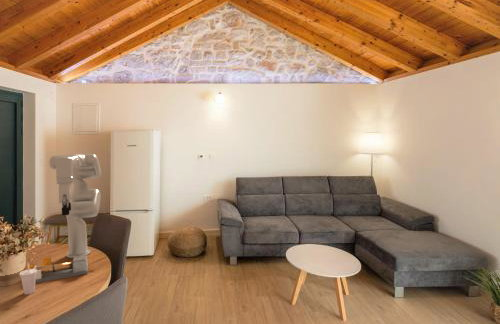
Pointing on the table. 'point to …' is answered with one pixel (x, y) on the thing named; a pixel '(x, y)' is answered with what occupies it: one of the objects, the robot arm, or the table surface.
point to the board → (59, 275)
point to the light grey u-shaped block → (38, 272)
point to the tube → (55, 267)
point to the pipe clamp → (45, 263)
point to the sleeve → (79, 264)
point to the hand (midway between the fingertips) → (66, 212)
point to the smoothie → (28, 280)
